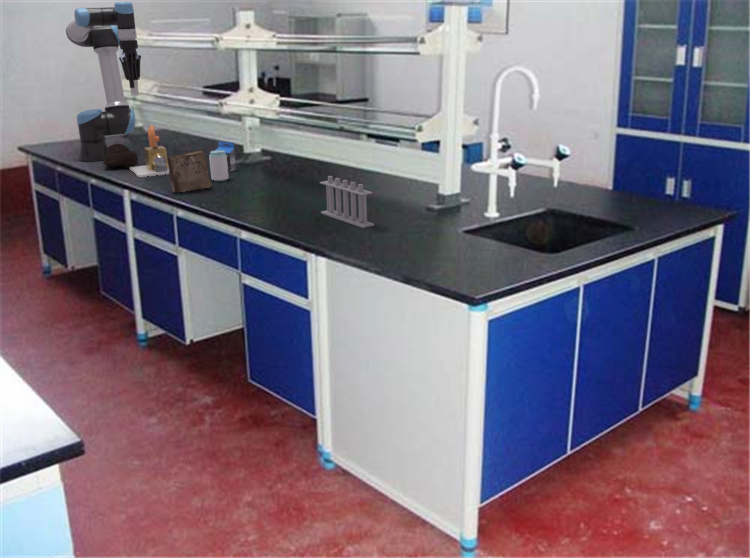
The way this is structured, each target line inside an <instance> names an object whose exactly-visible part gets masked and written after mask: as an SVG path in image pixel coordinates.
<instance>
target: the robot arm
mask: <svg viewBox="0 0 750 558" xmlns="http://www.w3.org/2000/svg"><path fill="white" fill-rule="evenodd" d="M136 30H137V29H136V21H135V10H134V5H133V3H132V2H131V1H116V2H114V6H112V7H79V8H78V7H77V8H75V9H74V21H73V20H72V21H71V22H69V23H68V24H67V27H66V29H65V33H66V37H67V39H68V40H69V41H70V42H71V43H72V44H74V45H76V46H77V47H78V46H79V47H82V48H92V49H93V52H94V53H96V55H97V56H98V62H99V67H100V74H101V79H102V83H103V88H104V89H103V90H104V94H105V100H106V105H105V107H104V111H103V110H102V109H101V108H95V109H92V108H91V109H87V110H84V111H81V112H79V113H78V114H77V115H76V120H77V123H76V124H77V128H78V135H79V140H80V147H79V153H78V159H79V161H81V162H98V161H99V162H100V161H104V160H105V158H106V149H107V148H108V147H109V145H108V144H107V139H106V137H109V136H117V135H119V136H120V135H127V134H132V133H133V132H134V131H135V128H136V114H135V111H134V109H132V108H130V104H129V103H127V102H126V100H125V98H126V97H125V94H124V89H123V88H124V87H123V84H122V78H121V73H120V72H121V71H120V66H119V62H118V61H120V63H121V67H122V71H123V74H124V79H125V80H126V81H128V82H129V89H130V95H131V96H139V95H140V94H139V83H138V81H139V80H140V78H141V59H142V56H141V55H140V54H138V51H137V50H138V48H139V46H138V45H139V44H138V43H139V42H138V40H137V31H136ZM119 49H120V50H122V56H120V57H118V55H117V52H118V51H119ZM118 59H119V60H118Z"/></svg>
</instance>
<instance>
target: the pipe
mask: <svg viewBox="0 0 750 558" xmlns="http://www.w3.org/2000/svg"><path fill="white" fill-rule="evenodd" d="M102 164H103V165H105V166H106V167H108V168H117V167H120V166H121V167H122V166H123V167H135V166H138V164H139V159H138V154H137V152H136V151H135V150H130V149H129V147H127V145H124V144H122V143H115V144H111V145H108V148H107V149H106V158H105V160H103V163H102Z"/></svg>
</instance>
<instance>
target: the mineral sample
mask: <svg viewBox="0 0 750 558" xmlns="http://www.w3.org/2000/svg"><path fill="white" fill-rule="evenodd" d="M167 163H168V169H169V174H168V175H169V178H170V180H169V181H170V184H171V185H170V186H171V190H172V193H173V192H178V193H177V194H180V193H179V192H183V193H187V192H186V191H189V192H192V191H191V190H193V191H197V190H196V189H200V190H205V189H204V188H209V189H210V188H211V187H212V186H213V184H212V181H211V179H210V178H211V177H210V172H209V169H208V161H207V158H206V155H205V152H204V151H203V149H195V150H191V151H186V152H183V153H178V154H175V155H170V156H167Z"/></svg>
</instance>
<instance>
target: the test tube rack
mask: <svg viewBox="0 0 750 558" xmlns="http://www.w3.org/2000/svg"><path fill="white" fill-rule="evenodd" d="M348 182H349V181H348V180H347V179H343V180H342V181H341V178H340V177H336V178H334V177H333V175H328V176H327V180H323V181H319V184H321V185H325V191H326V193H325V195H326V210H321V211H320V214H321V215H324V216H327V217H330V218H333V219H335V220H339V221H341V222H345V223H348V224H351V225H353V226H357V227H358V228H361V229H364V228H369V227H374V226H375V223H373V222H370V221H368V214H367V213H368V210H367V207H368V206H367V196H368V195H372V194H373V192H372V191H370V190H366V189H364V184H361V183H360V184H357V186H356V181H355V182H354V181H350V182H349V183H348ZM334 188H335V189H334ZM334 191H335V194H334ZM349 195H350V204H349ZM357 198H358V199H357ZM342 200H343V201H342ZM357 200H358V201H357ZM342 202H343V203H342ZM357 202H358V217H357ZM342 204H343V205H342ZM349 205H350V207H349ZM335 206H336V207H335ZM342 206H343V212H342ZM335 208H336V209H335ZM350 213H351V215H350Z"/></svg>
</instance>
